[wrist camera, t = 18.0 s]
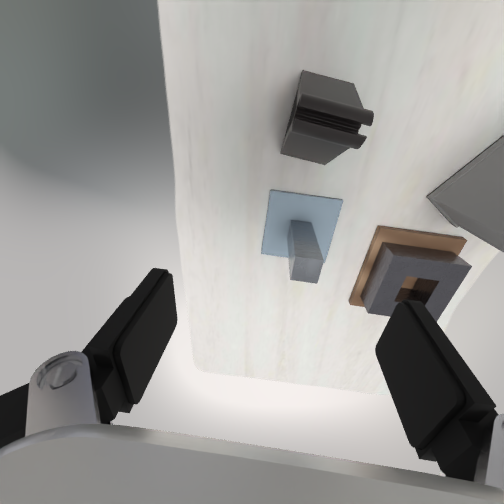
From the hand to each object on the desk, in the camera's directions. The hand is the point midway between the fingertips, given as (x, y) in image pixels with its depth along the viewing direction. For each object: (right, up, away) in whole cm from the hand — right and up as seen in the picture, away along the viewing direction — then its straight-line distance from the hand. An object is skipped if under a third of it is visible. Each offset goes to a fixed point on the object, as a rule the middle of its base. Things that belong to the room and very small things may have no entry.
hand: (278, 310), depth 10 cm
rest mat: (+6, +6, +26) cm, 28 cm away
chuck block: (+22, -1, +28) cm, 36 cm away
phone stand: (+7, +19, +20) cm, 28 cm away
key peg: (+6, +6, +26) cm, 27 cm away
